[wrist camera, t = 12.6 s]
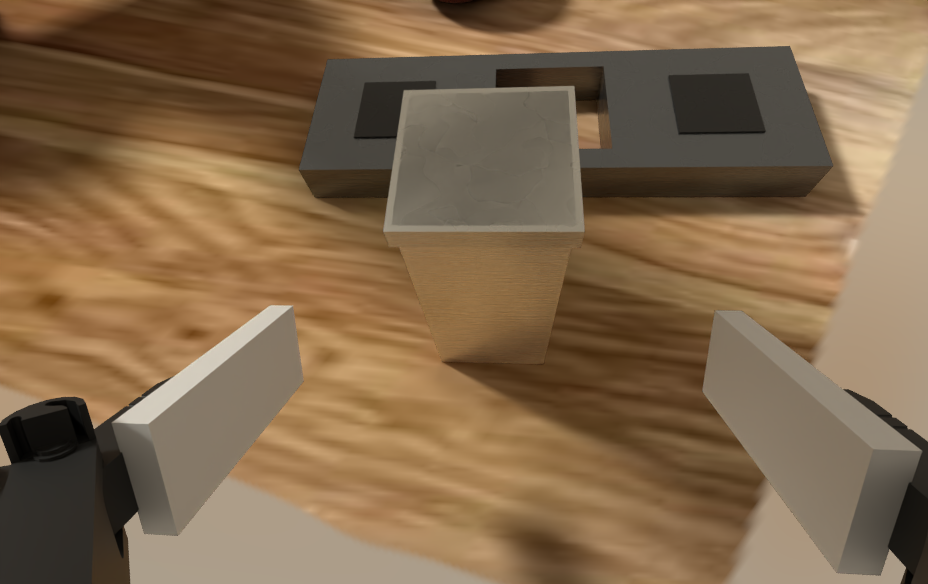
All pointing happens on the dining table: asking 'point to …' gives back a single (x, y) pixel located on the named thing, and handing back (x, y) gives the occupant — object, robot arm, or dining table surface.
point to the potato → (455, 1)
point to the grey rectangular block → (487, 215)
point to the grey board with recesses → (619, 115)
